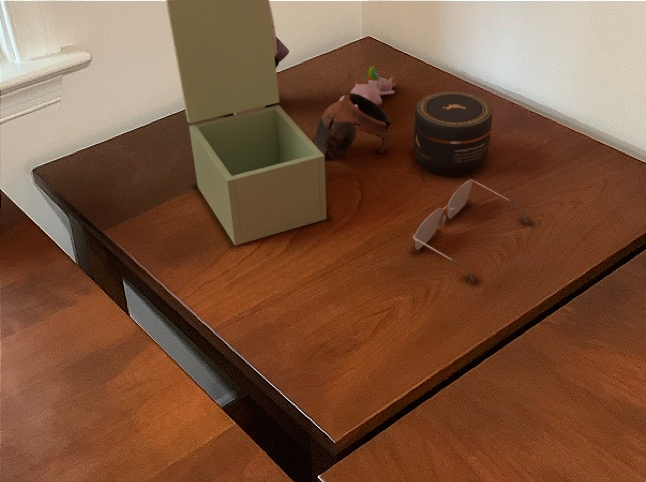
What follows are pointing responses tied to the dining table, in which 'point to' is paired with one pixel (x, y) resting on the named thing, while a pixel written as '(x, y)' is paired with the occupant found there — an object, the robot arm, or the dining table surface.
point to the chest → (259, 173)
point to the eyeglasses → (454, 206)
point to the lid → (223, 55)
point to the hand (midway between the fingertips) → (244, 105)
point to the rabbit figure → (374, 87)
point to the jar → (452, 133)
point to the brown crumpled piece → (350, 125)
